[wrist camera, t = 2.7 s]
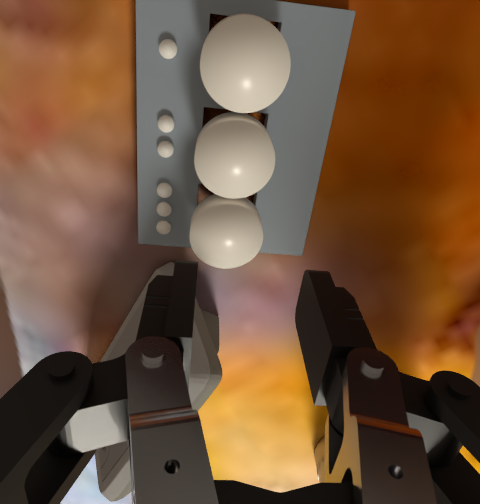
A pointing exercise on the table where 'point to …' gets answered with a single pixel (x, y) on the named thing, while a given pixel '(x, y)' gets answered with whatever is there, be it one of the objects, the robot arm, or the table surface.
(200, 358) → the digital clock
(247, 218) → the button
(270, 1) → the button board
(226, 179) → the button
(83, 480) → the table surface
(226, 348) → the table surface
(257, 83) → the button
